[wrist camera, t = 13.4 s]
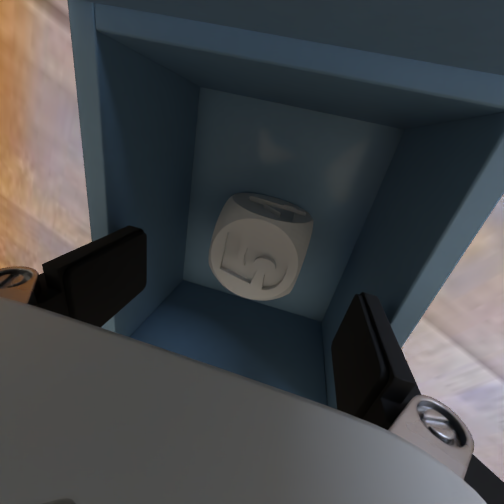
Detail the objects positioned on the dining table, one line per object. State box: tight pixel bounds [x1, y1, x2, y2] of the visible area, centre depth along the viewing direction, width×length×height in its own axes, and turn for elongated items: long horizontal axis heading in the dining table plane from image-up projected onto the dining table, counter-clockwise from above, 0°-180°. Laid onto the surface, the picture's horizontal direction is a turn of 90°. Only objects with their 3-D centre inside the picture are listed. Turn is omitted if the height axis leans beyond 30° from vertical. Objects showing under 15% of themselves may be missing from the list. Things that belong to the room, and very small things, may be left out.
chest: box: [68, 0, 504, 409], centre depth 14 cm, size 16×14×9 cm
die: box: [209, 193, 313, 301], centre depth 15 cm, size 5×5×5 cm
